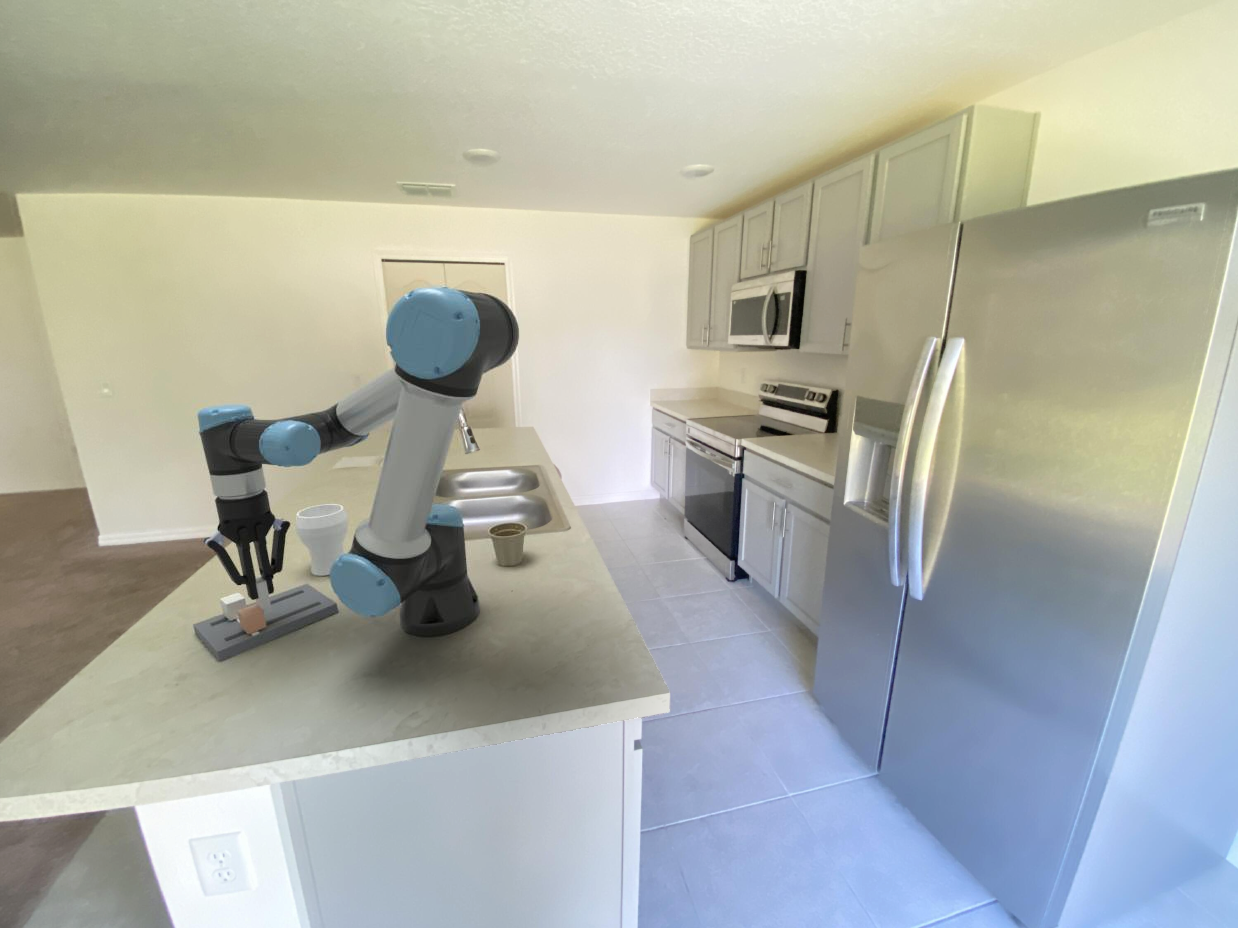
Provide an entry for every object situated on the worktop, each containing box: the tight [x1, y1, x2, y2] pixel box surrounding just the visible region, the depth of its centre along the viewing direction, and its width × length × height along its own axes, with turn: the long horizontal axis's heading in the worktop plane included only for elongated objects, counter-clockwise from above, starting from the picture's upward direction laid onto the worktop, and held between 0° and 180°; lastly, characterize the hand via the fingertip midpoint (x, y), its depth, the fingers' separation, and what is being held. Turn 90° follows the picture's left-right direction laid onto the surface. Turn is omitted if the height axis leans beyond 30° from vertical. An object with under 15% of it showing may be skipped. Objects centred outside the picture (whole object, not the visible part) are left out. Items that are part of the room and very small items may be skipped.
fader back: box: [219, 592, 247, 621], centre depth 97 cm, size 4×3×4 cm
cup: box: [295, 503, 349, 577], centre depth 120 cm, size 11×11×15 cm
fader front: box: [237, 604, 267, 634], centre depth 93 cm, size 4×3×4 cm
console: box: [192, 583, 339, 663], centre depth 99 cm, size 14×20×2 cm
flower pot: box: [487, 522, 528, 567], centre depth 124 cm, size 9×9×9 cm
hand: (265, 611), depth 95 cm, fingers closed
